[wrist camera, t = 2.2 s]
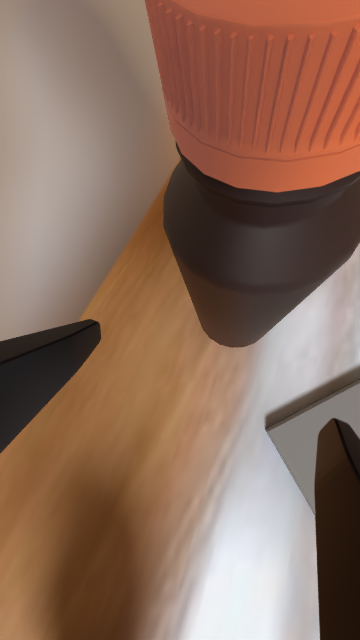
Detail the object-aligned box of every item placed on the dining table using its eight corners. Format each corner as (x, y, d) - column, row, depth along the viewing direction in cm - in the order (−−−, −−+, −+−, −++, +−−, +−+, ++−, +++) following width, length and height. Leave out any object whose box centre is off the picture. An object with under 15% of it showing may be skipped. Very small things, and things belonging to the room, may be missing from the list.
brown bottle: (216, 270, 23) (195, -218, 4) (282, 295, 22) (786, -353, 2) (187, 330, 22) (-14, 61, 3) (254, 360, 21) (713, 176, 1)
